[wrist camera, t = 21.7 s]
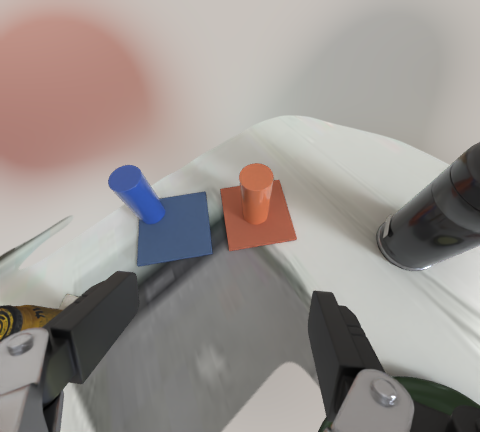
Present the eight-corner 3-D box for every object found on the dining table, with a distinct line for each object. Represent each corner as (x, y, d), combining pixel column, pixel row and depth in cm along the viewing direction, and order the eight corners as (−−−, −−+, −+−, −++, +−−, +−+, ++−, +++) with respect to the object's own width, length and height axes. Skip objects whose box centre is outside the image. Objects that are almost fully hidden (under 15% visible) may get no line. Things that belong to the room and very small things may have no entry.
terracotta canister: (265, 199, 45) (269, 160, 35) (271, 222, 43) (277, 187, 33) (240, 203, 45) (236, 166, 35) (244, 226, 43) (242, 193, 33)
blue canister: (165, 199, 46) (142, 162, 36) (165, 222, 44) (140, 188, 34) (140, 203, 46) (109, 167, 36) (138, 226, 44) (106, 194, 34)
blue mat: (205, 193, 47) (205, 191, 47) (212, 254, 41) (212, 252, 41) (141, 203, 47) (140, 201, 46) (138, 266, 41) (136, 265, 40)
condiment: (35, 350, 35) (-58, 355, 25) (67, 294, 39) (-2, 277, 28) (77, 364, 34) (-2, 376, 24) (106, 304, 38) (49, 291, 27)
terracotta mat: (278, 181, 48) (279, 179, 47) (296, 239, 42) (296, 238, 41) (220, 190, 47) (220, 188, 47) (229, 251, 41) (229, 250, 41)
